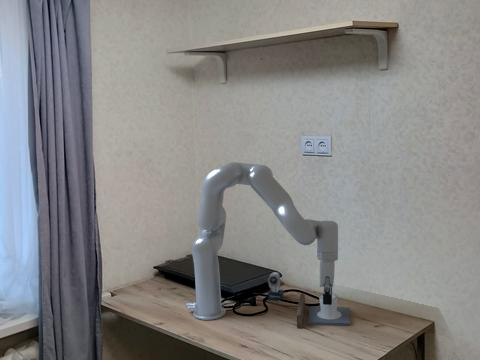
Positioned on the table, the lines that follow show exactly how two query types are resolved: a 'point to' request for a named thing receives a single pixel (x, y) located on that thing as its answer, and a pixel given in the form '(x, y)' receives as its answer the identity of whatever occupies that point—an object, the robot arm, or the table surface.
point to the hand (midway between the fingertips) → (327, 299)
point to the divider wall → (300, 310)
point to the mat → (338, 320)
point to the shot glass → (328, 307)
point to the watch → (275, 287)
